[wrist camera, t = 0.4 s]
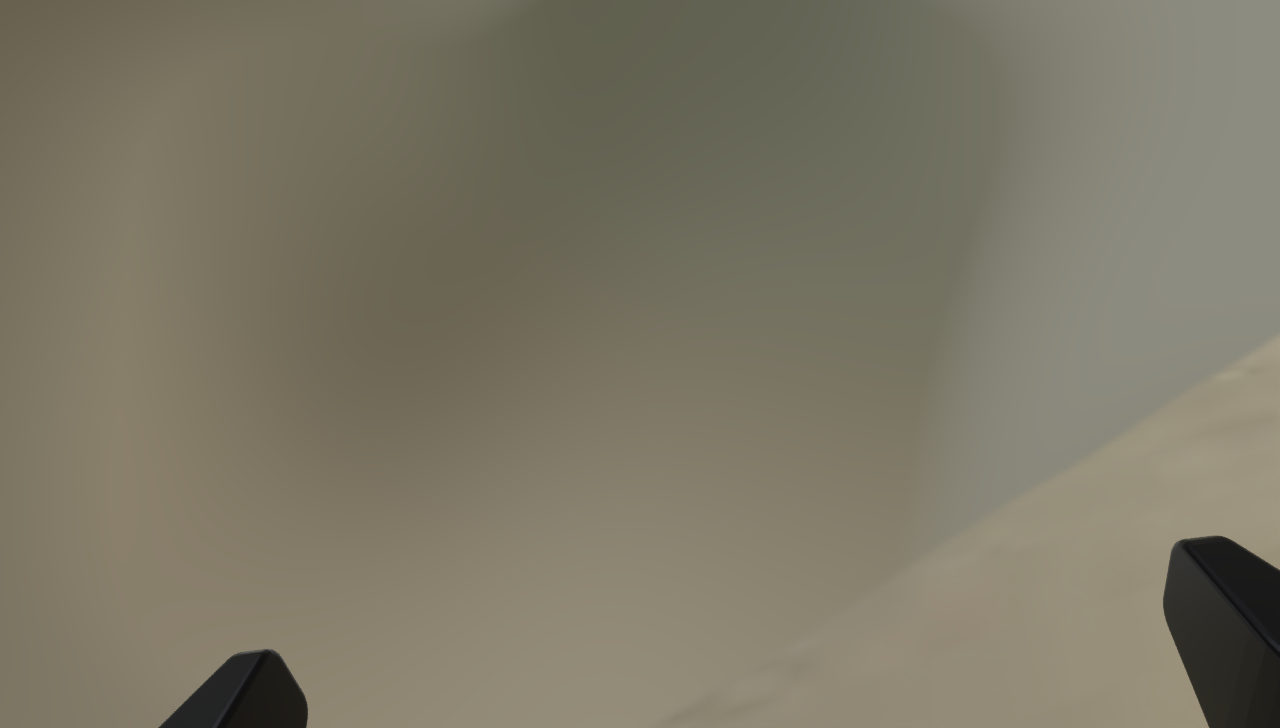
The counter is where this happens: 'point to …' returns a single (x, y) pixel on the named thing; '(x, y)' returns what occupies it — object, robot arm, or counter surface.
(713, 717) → the counter surface
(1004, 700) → the counter surface
